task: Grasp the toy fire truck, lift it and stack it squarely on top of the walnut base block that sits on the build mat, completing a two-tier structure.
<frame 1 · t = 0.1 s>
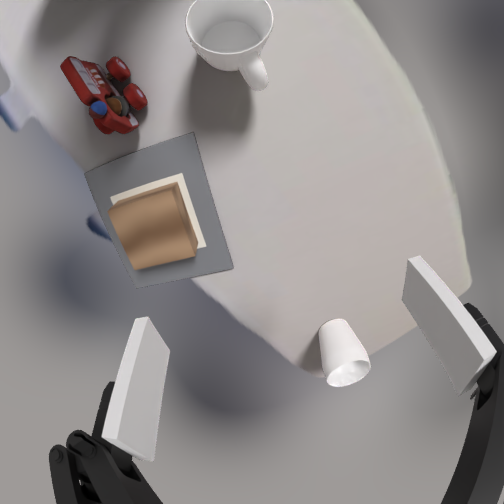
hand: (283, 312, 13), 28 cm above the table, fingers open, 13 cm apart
toy fire truck: (118, 95, 30), on the table
cup: (332, 328, 54), on the table
base block: (157, 221, 39), point 1 cm above the table, touching build mat
build mat: (158, 219, 40), on the table
mug: (236, 56, 28), on the table
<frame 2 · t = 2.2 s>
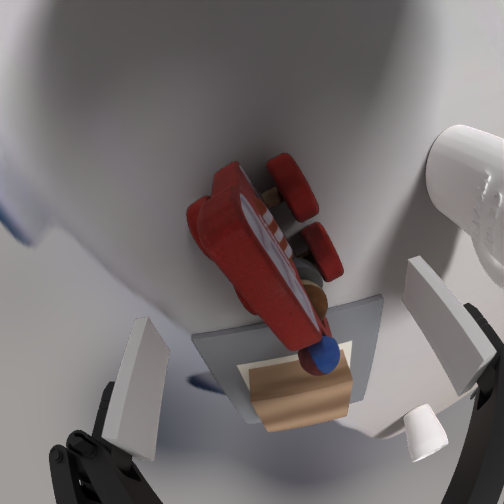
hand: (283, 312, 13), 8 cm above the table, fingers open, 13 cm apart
toy fire truck: (269, 227, 19), on the table
cup: (415, 410, 45), on the table
base block: (300, 382, 29), point 1 cm above the table, touching build mat
build mat: (299, 378, 29), on the table
mug: (457, 190, 18), on the table
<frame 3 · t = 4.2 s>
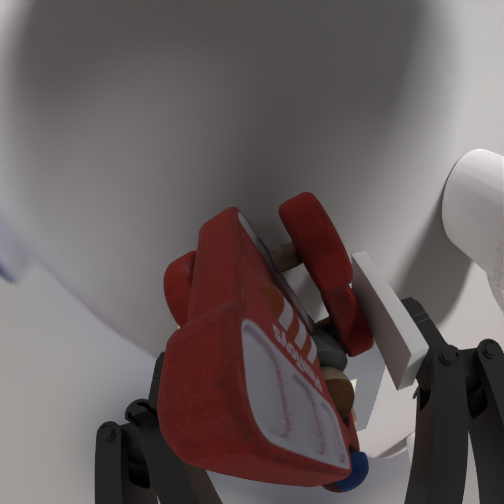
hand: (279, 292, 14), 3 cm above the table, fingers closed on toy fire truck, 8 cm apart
toy fire truck: (278, 283, 14), point 2 cm above the table, touching gripper
cup: (418, 431, 41), on the table
build mat: (300, 413, 26), on the table
mug: (472, 220, 16), on the table
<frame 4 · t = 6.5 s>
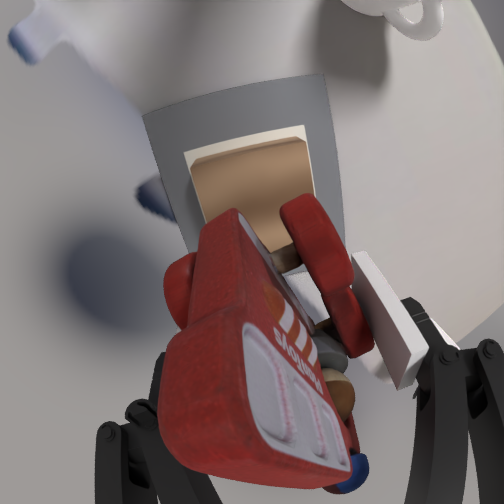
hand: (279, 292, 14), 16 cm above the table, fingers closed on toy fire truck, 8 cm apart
toy fire truck: (278, 285, 14), point 16 cm above the table, touching gripper
base block: (256, 192, 27), point 1 cm above the table, touching build mat
build mat: (256, 190, 28), on the table
mug: (369, 2, 17), on the table
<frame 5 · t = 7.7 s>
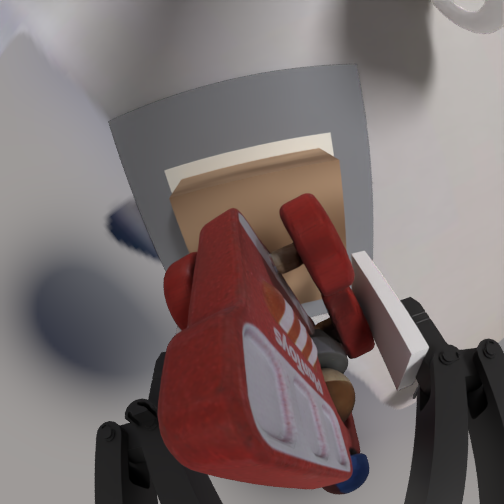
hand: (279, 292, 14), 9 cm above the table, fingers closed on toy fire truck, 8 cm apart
toy fire truck: (278, 285, 14), point 8 cm above the table, touching gripper
base block: (264, 224, 21), point 1 cm above the table, touching build mat
build mat: (263, 220, 21), on the table
when the fingers open (6 cm above the table, at t = 8.6 s): toy fire truck drops 1 cm, resting on base block.
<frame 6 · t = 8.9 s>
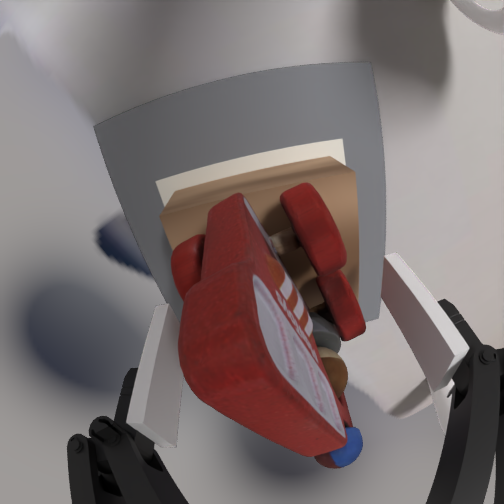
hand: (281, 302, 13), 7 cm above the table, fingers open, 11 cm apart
toy fire truck: (276, 270, 15), point 4 cm above the table, touching base block
cup: (442, 369, 34), on the table
base block: (268, 240, 19), point 1 cm above the table, touching build mat, toy fire truck
build mat: (266, 236, 19), on the table
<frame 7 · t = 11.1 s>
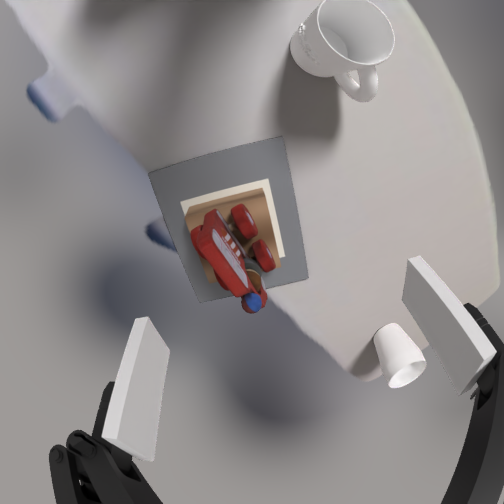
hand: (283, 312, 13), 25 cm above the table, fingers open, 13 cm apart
toy fire truck: (235, 241, 34), point 4 cm above the table, touching base block
cup: (386, 332, 52), on the table
base block: (235, 230, 38), point 1 cm above the table, touching build mat, toy fire truck
build mat: (234, 228, 38), on the table
mug: (325, 63, 28), on the table
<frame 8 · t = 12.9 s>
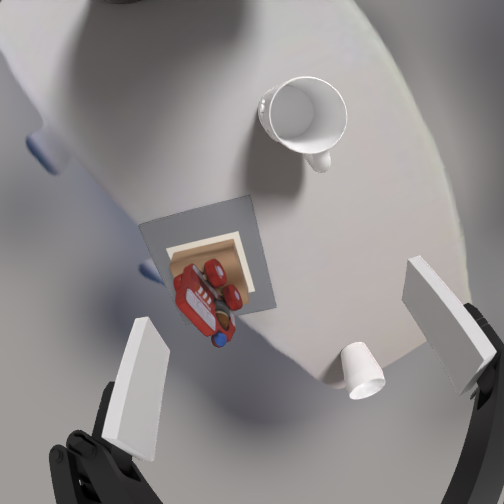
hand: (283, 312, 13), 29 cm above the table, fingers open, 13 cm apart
toy fire truck: (210, 284, 42), point 4 cm above the table, touching base block
cup: (352, 349, 61), on the table
base block: (212, 271, 45), point 1 cm above the table, touching build mat, toy fire truck
build mat: (212, 268, 46), on the table
mug: (291, 124, 34), on the table
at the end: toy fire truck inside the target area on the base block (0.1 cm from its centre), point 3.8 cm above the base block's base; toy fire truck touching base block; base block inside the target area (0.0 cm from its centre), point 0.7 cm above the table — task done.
